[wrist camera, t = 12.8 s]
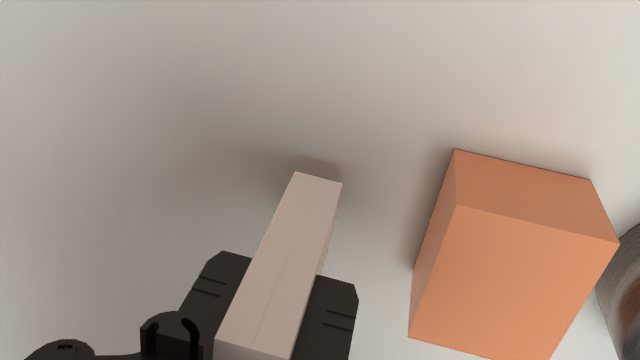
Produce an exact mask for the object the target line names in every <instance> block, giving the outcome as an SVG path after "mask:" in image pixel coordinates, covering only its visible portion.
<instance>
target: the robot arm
mask: <svg viewBox="0 0 640 360" xmlns="http://www.w3.org/2000/svg"><path fill="white" fill-rule="evenodd" d="M342 185H343V183H340V182H336V181H332V180H328V179H324V178H320V177H316V176H312V175H308V174H304V173H300V172H296V171H295V172H294V174H293V176H292V178H291V180H290V182H289V184H288V186H287V188H286V190H285V192H284V194H283V197H282V199H281V201H280V203H279V205H278V207H277V209H276V211H275V213H274V215H273V217H272V219H271V221H270V224H269V226H268V228H267V230H266V232H265V234H264V236H263V238H262V240H261V242H260V244H259V246H258V249H257V251H256V253H255V255H254V257H253V258H249V257H245V256H242V255H238V254H234V253H230V252H227V251H223V250H222V251H221V252H220V253H218V254H217V255H215V256H214V257H213V258H211V259H210V260H208V261H207V263H206V264H205V266H204V268H203V270H202V271H201V273H200V275H199V277H198V279H197V280H196V281H195V283H194V285H193V286H192V289H191V291H189V293H188V295H187V297H186V298H185V300H184V302H183V303H182V305H181V307H180V308H179V310H178V311H170V312H164V313H160V314H158V315H156V316H154V317H152V318H150V319H148V320H147V321H146V322H145V323H144V324H143V325H142V326H141V327H140V344H141V352H138V353H135V354H129V355H109V356H95V353H94V350H93V349H92V348H91V347H90V346H89V345H88V344H87V343H84V342H81V341H78V340H75V339H62V340H58V341H54V342H51V343H48V344H46V345H44V346H42V347H41V348H39V349H37V350H36V351H34V352H33V353H32V354H31V355H29V356H28V357H27V358H26V359H24V360H348V356H349V351H350V346H351V340H352V335H353V330H354V324H355V319H356V314H357V309H358V303H359V299H358V296H357V293H356V290H355V287H354V284H350V283H347V282H343V281H339V280H335V279H332V278H328V277H324V276H321V275H320V274H321V271H322V267H323V264H324V261H325V257H326V254H327V250H328V246H329V242H330V237H331V233H332V229H333V224H334V220H335V215H336V211H337V207H338V202H339V198H340V194H341V189H342Z"/></svg>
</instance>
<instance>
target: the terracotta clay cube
mask: <svg viewBox="0 0 640 360" xmlns="http://www.w3.org/2000/svg"><path fill="white" fill-rule="evenodd" d="M619 246H620V242H619V240H618V238H617V236H616V233H615V231H614V229H613V227H612V225H611V223H610V220H609V218H608V216H607V214H606V212H605V210H604V208H603V205H602V203H601V201H600V199H599V197H598V195H597V193H596V190H595V188H594V186H593V184H592V182H591V180H587V179H583V178H578V177H574V176H570V175H565V174H561V173H557V172H552V171H548V170H544V169H539V168H535V167H531V166H526V165H522V164H518V163H514V162H509V161H505V160H501V159H496V158H492V157H488V156H483V155H479V154H475V153H470V152H466V151H462V150H457V149H454V151H453V154H452V157H451V160H450V163H449V166H448V169H447V172H446V175H445V178H444V181H443V184H442V187H441V190H440V193H439V195H438V198H437V201H436V204H435V207H434V210H433V213H432V216H431V219H430V222H429V225H428V228H427V231H426V234H425V237H424V239H423V242H422V245H421V248H420V251H419V254H418V257H417V260H416V263H415V266H414V269H413V273H412V286H411V299H410V312H409V325H408V337H409V338H413V339H416V340H420V341H424V342H428V343H431V344H435V345H439V346H443V347H446V348H450V349H454V350H458V351H461V352H465V353H469V354H473V355H476V356H480V357H484V358H488V359H491V360H549V359H550V357H551V356H552V354H553V353H554V351H555V349H556V348H557V346H558V344H559V343H560V341H561V340H562V338H563V336H564V335H565V333H566V331H567V330H568V328H569V327H570V325H571V323H572V322H573V320H574V319H575V317H576V315H577V314H578V312H579V310H580V309H581V307H582V306H583V304H584V302H585V301H586V299H587V297H588V296H589V294H590V293H591V291H592V289H593V288H594V286H595V285H596V283H597V281H598V280H599V278H600V276H601V275H602V273H603V272H604V270H605V268H606V267H607V265H608V263H609V262H610V260H611V259H612V257H613V255H614V254H615V252H616V251H617V249H618V247H619Z"/></svg>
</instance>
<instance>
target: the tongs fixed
mask: <svg viewBox="0 0 640 360" xmlns="http://www.w3.org/2000/svg"><path fill="white" fill-rule="evenodd" d="M619 242H620V246H619V247H618V249H617V251H616V252H615V254H614V255H613V257H612V259H611V260H610V262H609V263H608V265H607V267H606V268H605V270H604V272H603V273H602V275H601V276H600V278H599V280H598V281H597V283H596V294H597V298H598V302H599V305H600V308H601V311H602V313H603V316H604V319H605V322H606V325H607V328H608V330H609V333H610V336H611V339H612V342H613V344H614V347H615V350H616V353H617V356H618V359H619V360H640V224H639V225H638V226H636V227H635V228H633V229H632V230H630V231H629V232H628V233H626V234H625V235H624V236H623V237H622V238H620V239H619Z"/></svg>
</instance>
